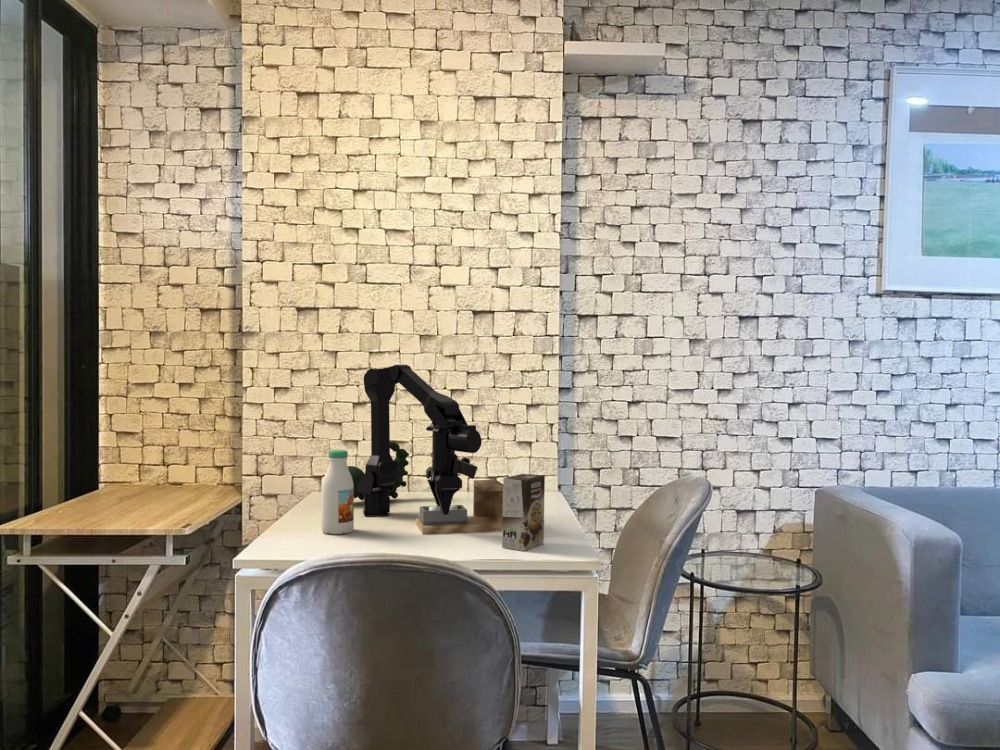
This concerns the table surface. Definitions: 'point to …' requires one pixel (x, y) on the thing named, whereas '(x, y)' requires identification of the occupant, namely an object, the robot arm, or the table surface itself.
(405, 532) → the table surface
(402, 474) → the toy figurine
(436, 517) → the tray
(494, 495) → the wooden l-shaped stand
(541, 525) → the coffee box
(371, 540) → the table surface
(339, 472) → the milk bottle
